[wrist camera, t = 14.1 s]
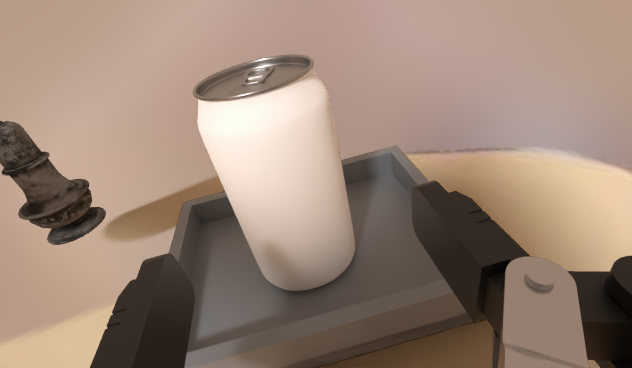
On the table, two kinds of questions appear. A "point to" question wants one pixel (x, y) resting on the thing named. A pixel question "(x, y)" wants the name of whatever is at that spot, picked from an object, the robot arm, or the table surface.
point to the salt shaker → (47, 188)
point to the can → (280, 167)
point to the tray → (322, 302)
